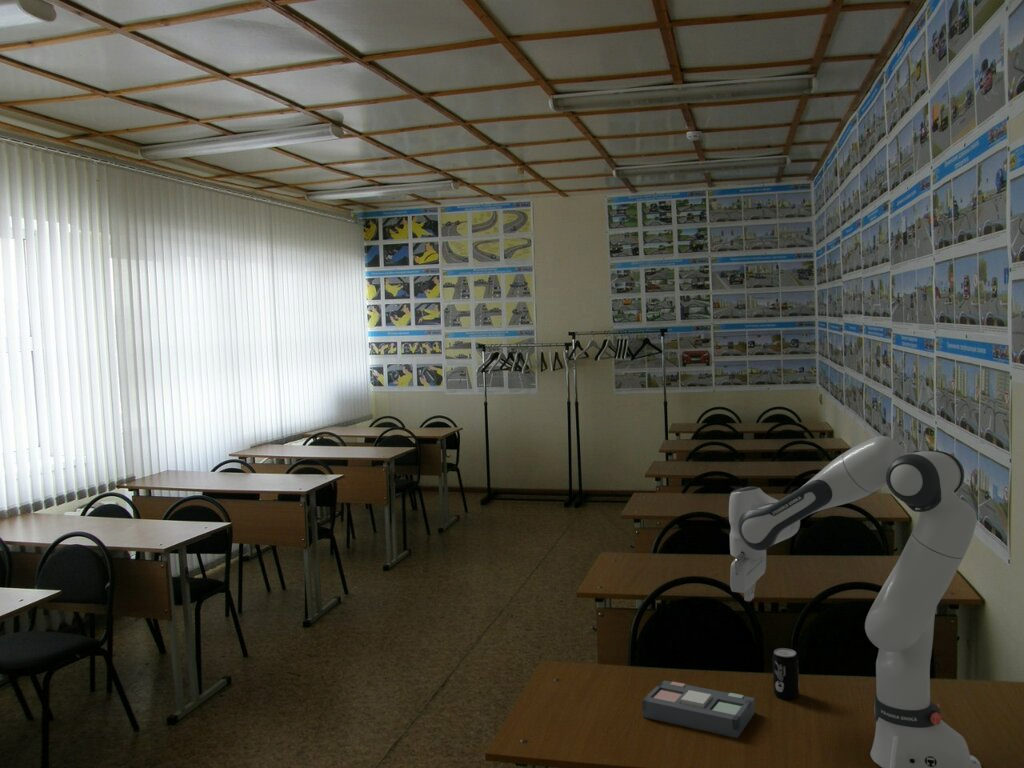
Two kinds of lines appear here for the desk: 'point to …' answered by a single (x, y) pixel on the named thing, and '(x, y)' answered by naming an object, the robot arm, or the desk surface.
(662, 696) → the rose key
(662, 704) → the keypad
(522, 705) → the desk surface
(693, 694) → the ivory key
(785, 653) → the beverage can
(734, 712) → the sage key
